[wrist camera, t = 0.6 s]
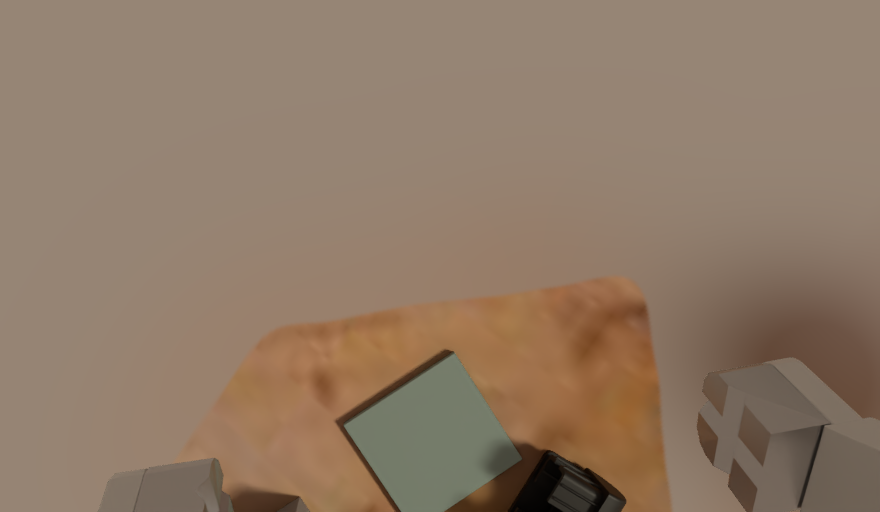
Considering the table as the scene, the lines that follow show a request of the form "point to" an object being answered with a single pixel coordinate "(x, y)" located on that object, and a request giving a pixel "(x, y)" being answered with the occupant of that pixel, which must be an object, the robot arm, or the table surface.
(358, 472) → the table surface
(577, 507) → the end cap
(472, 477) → the mat
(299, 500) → the grey holed block
